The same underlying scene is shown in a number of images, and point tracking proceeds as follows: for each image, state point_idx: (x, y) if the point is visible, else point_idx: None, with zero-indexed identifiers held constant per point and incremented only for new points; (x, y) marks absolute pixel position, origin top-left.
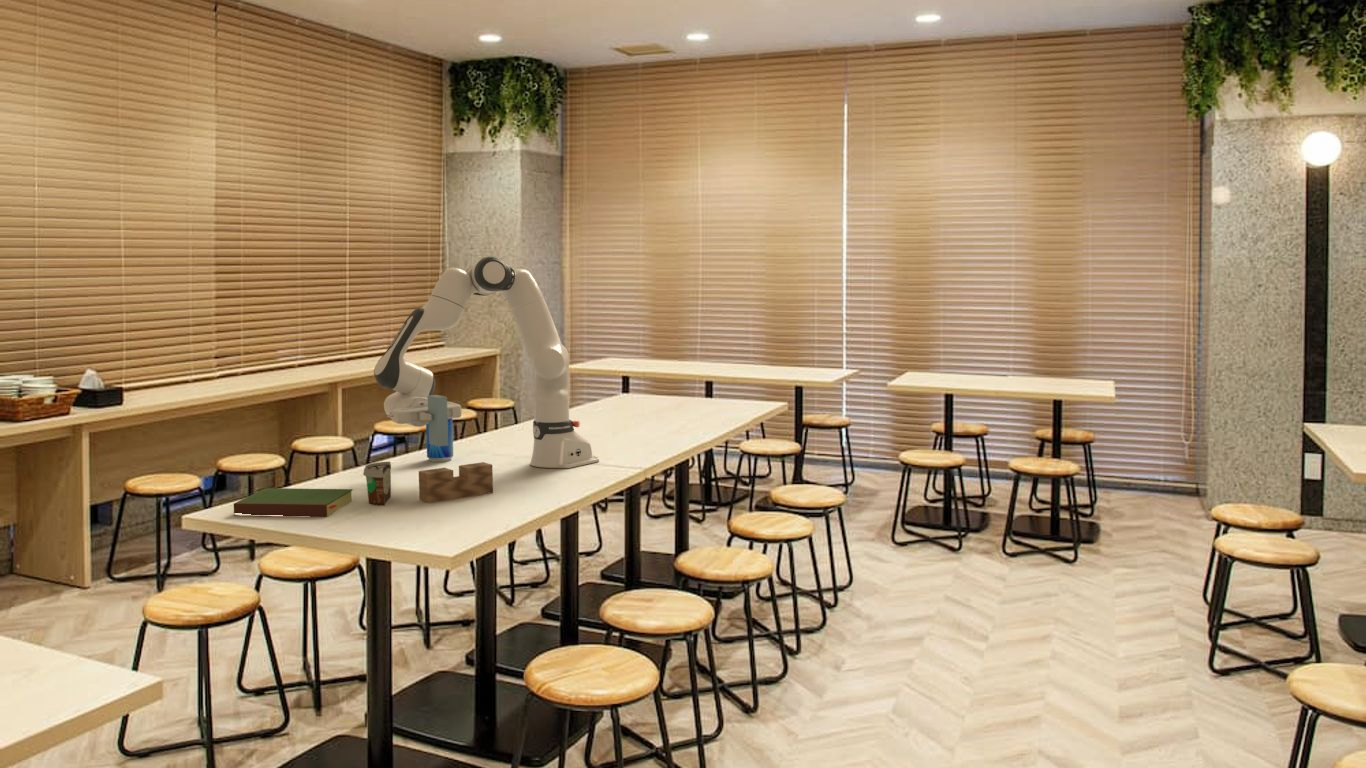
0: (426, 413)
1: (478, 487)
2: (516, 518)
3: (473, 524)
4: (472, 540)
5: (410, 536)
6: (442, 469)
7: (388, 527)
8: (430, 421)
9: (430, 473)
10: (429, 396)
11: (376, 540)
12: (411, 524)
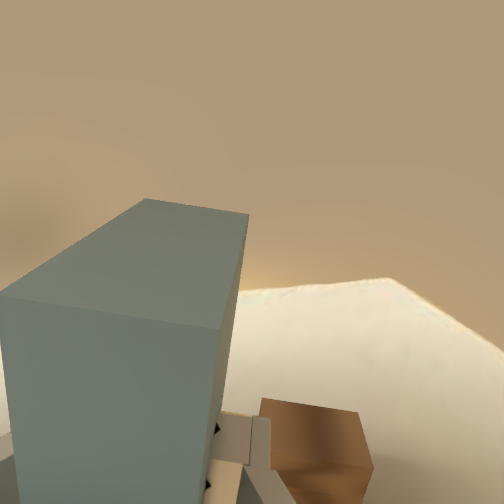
0: (265, 485)
1: None
2: (252, 302)
3: (321, 318)
4: (351, 288)
5: (424, 332)
6: (284, 430)
7: (459, 380)
8: None
9: (345, 411)
10: (230, 294)
11: (477, 346)
12: (415, 369)
